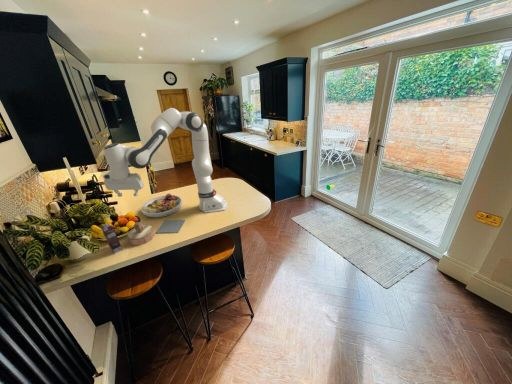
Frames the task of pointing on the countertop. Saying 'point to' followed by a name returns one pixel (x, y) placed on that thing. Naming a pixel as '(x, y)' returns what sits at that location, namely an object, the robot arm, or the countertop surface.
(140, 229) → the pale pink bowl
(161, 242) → the countertop surface
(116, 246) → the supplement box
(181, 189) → the countertop surface
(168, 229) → the mat
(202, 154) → the robot arm
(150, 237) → the bowl
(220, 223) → the countertop surface
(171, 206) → the bowl
